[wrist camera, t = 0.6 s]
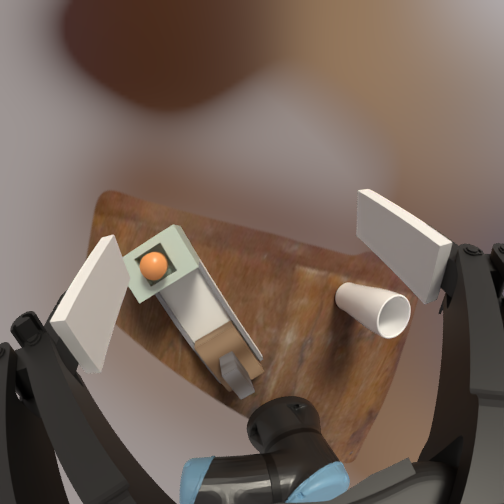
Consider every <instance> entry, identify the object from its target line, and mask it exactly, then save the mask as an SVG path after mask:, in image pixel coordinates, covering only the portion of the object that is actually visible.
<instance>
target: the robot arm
mask: <svg viewBox="0 0 504 504" xmlns="http://www.w3.org/2000/svg"><path fill="white" fill-rule="evenodd" d="M357 200H358V201H357V202H358V203H357V231H356V235H357V237H358V238H360V239H361V240H362V241H363V242H364V243H365V244H366V245H367V246H368V247H369V248H370V249H371V250H372V251H373V252H374V253H375V254H376V255H377V256H378V257H379V258H380V259H381V260H382V261H383V262H384V263H385V264H386V265H387V266H388V267H389V268H390V269H391V270H392V271H393V272H394V273H395V274H396V275H397V276H398V277H399V278H400V279H401V280H402V281H403V282H404V283H405V284H406V285H407V286H408V287H409V288H410V289H411V290H412V291H413V292H414V294H415V295H416V296H417V297H418V298H419V299H420V300H421V301H422V302H423V303H424V304H427V303H430V302H432V301H435V300H437V298H438V295H439V292H440V288H442V289H443V290H444V291H445V292H446V293H445V296H444V299H443V302H442V305H441V308H440V310H439V314H441V312H442V310H443V313H444V314H443V345H442V360H441V371H440V379H439V387H438V394H437V401H436V406H435V412H434V418H433V422H432V427H431V431H430V435H429V438H428V441H427V443H426V444H425V446H424V448H423V450H422V452H421V454H420V456H419V459H418V461H417V462H413V463H411V462H410V460H409V458H406V459H404V460H402V461H400V462H398V463H396V464H394V465H392V466H390V467H388V468H386V469H383V470H381V471H379V472H377V473H374V474H372V475H370V476H369V477H367V478H366V479H364V480H363V481H361V482H360V483H359V484H357V485H355V486H354V487H352V488H350V489H349V490H347V489H348V487H349V482H350V480H349V476H348V474H347V472H346V470H345V468H344V465H343V463H342V462H340V461H339V459H338V458H337V456H336V455H335V453H334V452H333V450H332V449H331V447H330V446H329V445H328V443H327V442H326V440H325V439H324V437H323V436H322V434H321V428H320V419H319V415H318V412H317V411H316V409H315V408H314V406H313V405H312V404H311V403H310V402H309V401H308V400H306V399H304V398H300V397H294V396H289V397H281V398H277V399H274V400H271V401H269V402H267V403H265V404H264V405H262V406H261V407H259V408H258V409H257V410H256V411H255V412H254V413H253V414H252V415H251V417H250V419H249V421H248V424H247V433H248V436H249V440H250V441H251V443H252V445H253V446H254V447H255V448H256V449H257V450H258V451H259V452H260V453H261V454H253V455H244V456H230V457H229V456H228V457H215V456H211V457H205V458H192V459H190V460H188V461H187V462H186V463H185V465H184V468H183V471H182V477H181V484H180V504H504V296H503V295H502V292H503V290H504V244H500V243H496V244H494V245H493V248H492V251H491V254H484V253H483V251H482V250H480V249H479V248H478V247H475V246H473V245H470V244H461V245H460V246H458V245H457V244H455V243H454V242H452V241H451V240H450V239H449V238H447V237H446V236H444V235H443V234H442V235H441V233H440V232H438V231H436V230H435V229H434V228H433V227H431V226H430V225H428V224H426V223H424V222H422V221H421V220H419V219H417V218H416V217H415V216H413V215H411V214H410V213H408V212H407V211H405V210H404V209H402V208H400V207H399V206H397V205H396V204H394V203H392V202H391V201H389V200H387V199H386V198H384V197H382V196H380V195H379V194H377V193H375V192H373V191H372V190H370V189H365V190H358V199H357ZM130 279H131V278H130V276H129V273H128V271H127V268H126V266H125V263H124V261H123V258H122V255H121V253H120V250H119V247H118V244H117V242H116V239H115V236H114V235H111V236H107V237H103V238H101V240H100V241H99V242H98V244H97V245H96V247H95V248H94V250H93V251H92V253H91V254H90V256H89V257H88V258H87V260H86V262H85V263H84V265H83V266H82V268H81V269H80V271H79V272H78V274H77V276H76V277H75V279H74V280H73V282H72V284H71V285H70V287H69V288H68V289H67V290H66V291H65V292H64V294H62V295H61V297H60V299H59V300H58V302H57V305H56V306H55V307H54V309H53V311H52V313H51V314H50V316H49V318H48V320H47V322H46V324H45V325H44V326H43V325H42V323H41V322H40V320H39V318H38V317H37V315H36V314H35V313H34V312H33V311H29V312H26V313H24V314H22V315H21V316H19V317H18V318H17V319H16V320H15V321H14V323H13V324H12V326H11V333H12V334H13V336H14V337H15V338H16V340H17V341H18V343H19V344H20V346H21V347H22V348H20V349H18V350H15V351H14V350H13V349H12V347H11V346H10V345H9V343H7V342H4V343H1V344H0V504H69V501H68V498H67V496H66V493H65V490H64V486H63V483H62V479H61V476H60V472H59V468H58V464H57V460H56V456H55V452H56V454H57V457H58V458H59V461H60V463H61V465H62V467H63V469H64V471H65V473H66V475H67V477H68V478H69V480H70V482H71V484H72V485H73V487H74V489H75V491H76V492H77V494H78V496H79V497H80V499H81V501H82V502H83V504H176V503H175V502H174V501H173V500H172V499H171V498H170V497H169V496H168V495H167V494H166V493H165V492H164V491H163V490H162V489H161V488H160V487H159V486H158V485H157V484H156V483H155V481H154V480H153V479H152V478H151V477H150V476H149V475H148V474H147V473H146V471H145V470H144V469H143V468H142V467H141V465H140V464H139V463H138V462H137V461H136V459H135V458H134V457H133V456H132V454H131V453H130V452H129V451H128V449H127V448H126V447H125V445H124V444H123V443H122V441H121V440H120V439H119V437H118V436H117V434H116V433H115V432H114V430H113V429H112V427H111V426H110V424H109V423H108V421H107V420H106V418H105V417H104V415H103V414H102V412H101V411H100V409H99V407H98V406H97V404H96V403H95V401H94V399H93V398H92V396H91V394H90V393H89V391H88V389H87V387H86V386H85V384H84V382H83V380H82V378H81V376H80V375H79V374H78V373H77V372H76V370H77V367H78V364H79V365H80V366H81V367H82V369H83V370H84V371H85V372H86V373H101V371H102V367H103V364H104V359H105V356H106V353H107V349H108V345H109V342H110V339H111V335H112V332H113V329H114V326H115V322H116V319H117V316H118V313H119V310H120V307H121V304H122V301H123V298H124V295H125V293H126V290H127V287H128V284H129V282H130ZM16 393H17V394H18V395H19V396H20V400H19V399H18V397H17V395H16ZM54 450H55V451H54Z"/></svg>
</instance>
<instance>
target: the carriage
mask: <svg viewBox="0 0 504 504" xmlns="http://www.w3.org/2000/svg"><path fill="white" fill-rule="evenodd" d="M194 349H195V350H196V351H197V353H198V354H199V355H200V357H201V358H202V359H203V361H204V362H205V363H206V364H207V366H208V367H209V368H210V370H211V371H212V372H213V373H214V375H215V376H216V377H217V378H218V380H219V381H220V382H221V383H222V385H223V386H224V387H225V388H226V389H227V391H228V392H230V391H232V390H233V391H234V392H235V393H236V394H237V395H238V397H239V398H240V399H243V398H245V397H247V396H248V395H250V394H252V393H254V392H255V390H254V387H253V385H252V382H251V380H252V379H254V378H255V377H257V376H259V375H260V374H262V373H264V370H263V368H262V365H261V364H260V362H259V361H258V359H257V358H256V357H255V355H254V354H253V352H252V351H251V349H250V348H249V346H248V345H247V344H246V342H245V341H244V339H243V338H242V336H241V335H240V333H239V332H238V330H237V329H236V327H235V326H234V324H233V323H232V321H231V320H230V321H228V322H227V323H225V324H223V325H222V326H220V327H218V328H217V329H215V330H213V331H212V332H210V333H208V334H207V335H205V336H203V337H201V338H200V339H198V340H196V341H195V348H194Z"/></svg>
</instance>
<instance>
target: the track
mask: <svg viewBox="0 0 504 504" xmlns="http://www.w3.org/2000/svg"><path fill="white" fill-rule="evenodd" d="M155 295H156V297H157V299H158V300H159V302H160V303H161V305H162V306H163V308H164V309H165V311H166V312H167V314H168V315H169V316H170V318H171V319H172V321H173V322H174V324H175V325H176V327H177V328H178V329H179V331H180V332H181V334H182V335H183V336H184V338H185V339H186V341H187V342H188V343H189V345H190V346H191V347H192V349H193V350H194V351H195V353H196V354H197V355H198V357H199V358H200V359H201V361H202V362H203V363H204V364H205V366H206V367H207V368H208V370H209V371H210V372H211V373H212V375H213V376H214V377H215V378H216V380H217V381H218V382H219V383H220V384H221V382H220V381H219V380H218V378H217V377H216V376H215V375H214V373H213V372H212V371H211V370H210V368H209V367H208V366H207V364H206V363H205V362H204V361H203V359H202V358H201V357H200V355H199V354H198V353H197V351H196V350H195V349H194V348H195V341H196V340H198V339H200V338H201V337H203V336H205V335H207V334H208V333H210V332H212V331H213V330H215V329H217V328H218V327H220V326H222V325H223V324H225V323H227V322H228V321H230V320H231V321H232V323H233V324H234V326H235V327H236V329H237V330H238V332H239V333H240V335H241V336H242V338H243V339H244V341H245V342H246V344H247V345H248V346H249V348H250V349H251V351H252V352H253V354H254V355H255V357H256V358H257V359H259V360H260V361H261V360H263V358H262V357H263V356H262V354H261V353H260V351H259V350H258V348H257V347H256V345H255V344H254V342H253V341H252V339H251V338H250V336H249V335H248V333H247V332H246V330H245V329H244V327H243V326H242V324H241V323H240V321H239V320H238V318H237V317H236V315H235V314H234V312H233V311H232V309H231V308H230V306H229V304H228V303H227V301H226V300H225V298H224V297H223V295H222V294H221V292H220V290H219V289H218V287H217V286H216V284H215V282H214V281H213V279H212V278H211V276H210V274H209V273H208V271H207V270H206V268H205V266H204V265H203V263H202V262H201V260H200V259H199V267H198V268H196V269H194V270H193V271H191V272H189V273H188V274H186V275H185V276H183V277H181V278H180V279H178V280H176V281H175V282H173V283H172V284H170V285H168V286H167V287H165V288H164V289H162V290H160V291H159V292H157V293H156V294H155Z"/></svg>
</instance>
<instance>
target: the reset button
mask: <svg viewBox="0 0 504 504" xmlns="http://www.w3.org/2000/svg"><path fill="white" fill-rule="evenodd" d="M167 270H168V260H167V258H166V256H165V255H164V254H162V253H161V252H151V253H149V254H146V255H145V256H144V257H143V258H142V259H141V262H140V271H141V273H142V275H143V276H144V277H145V278H147V279H149V280H158V279H160V278H161V277H162V276H163V275H164V274H165V273H166V272H167Z"/></svg>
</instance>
